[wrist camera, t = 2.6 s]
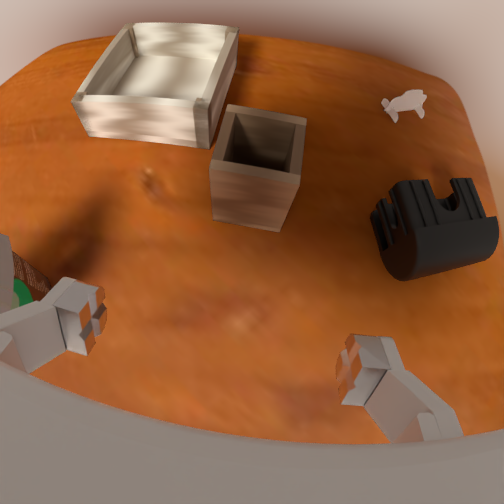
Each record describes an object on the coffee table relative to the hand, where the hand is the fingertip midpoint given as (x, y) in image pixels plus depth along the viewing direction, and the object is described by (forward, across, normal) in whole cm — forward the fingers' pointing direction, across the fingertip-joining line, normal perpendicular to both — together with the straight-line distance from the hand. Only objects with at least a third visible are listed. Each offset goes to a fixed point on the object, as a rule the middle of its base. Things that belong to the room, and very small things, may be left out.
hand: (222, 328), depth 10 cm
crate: (+26, +11, -6) cm, 29 cm away
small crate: (+19, 0, +2) cm, 19 cm away
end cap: (+18, -16, +2) cm, 24 cm away
